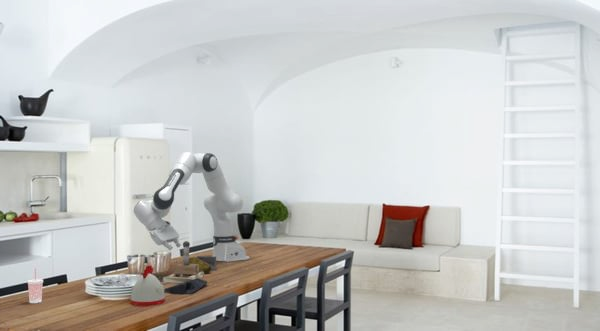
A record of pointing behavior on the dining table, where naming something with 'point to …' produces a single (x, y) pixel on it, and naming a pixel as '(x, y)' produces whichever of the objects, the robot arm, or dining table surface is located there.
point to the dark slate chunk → (186, 287)
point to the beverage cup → (35, 289)
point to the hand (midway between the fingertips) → (175, 247)
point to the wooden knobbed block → (186, 264)
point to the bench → (178, 277)
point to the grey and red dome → (147, 290)
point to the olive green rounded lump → (200, 264)
